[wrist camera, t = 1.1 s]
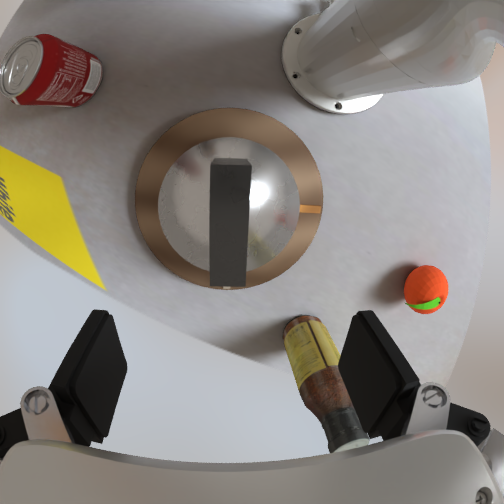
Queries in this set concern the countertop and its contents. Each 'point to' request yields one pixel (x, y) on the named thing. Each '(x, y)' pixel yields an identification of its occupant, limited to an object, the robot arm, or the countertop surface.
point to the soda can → (49, 73)
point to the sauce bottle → (323, 382)
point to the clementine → (426, 289)
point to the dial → (228, 207)
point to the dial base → (238, 126)
